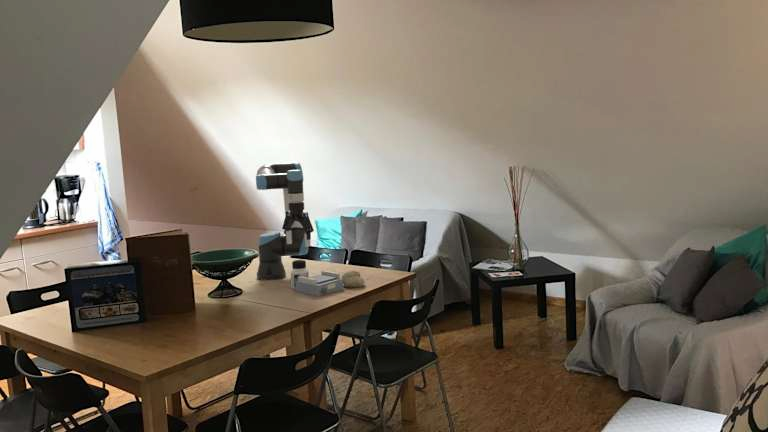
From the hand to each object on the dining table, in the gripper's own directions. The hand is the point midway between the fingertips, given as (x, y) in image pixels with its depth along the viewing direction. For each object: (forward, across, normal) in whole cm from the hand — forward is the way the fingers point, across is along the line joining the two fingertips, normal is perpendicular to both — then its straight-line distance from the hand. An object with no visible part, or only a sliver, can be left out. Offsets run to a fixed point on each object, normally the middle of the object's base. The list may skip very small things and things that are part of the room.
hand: (298, 245), depth 328 cm
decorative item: (+21, +21, +15) cm, 33 cm away
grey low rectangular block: (+20, +14, 0) cm, 25 cm away
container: (+21, 0, 0) cm, 21 cm away
